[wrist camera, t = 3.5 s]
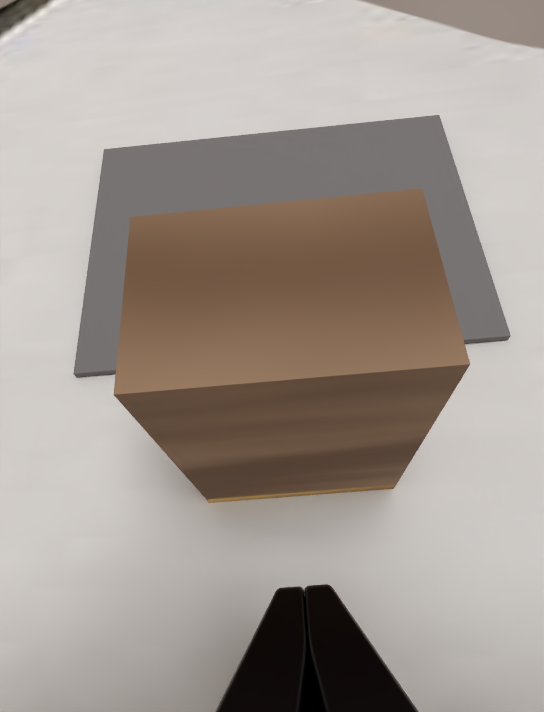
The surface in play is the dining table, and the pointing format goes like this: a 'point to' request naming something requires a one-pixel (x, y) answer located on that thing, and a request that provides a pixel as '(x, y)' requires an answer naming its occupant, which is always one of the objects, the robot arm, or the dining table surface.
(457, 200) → the mat
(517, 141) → the dining table surface
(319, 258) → the walnut block
